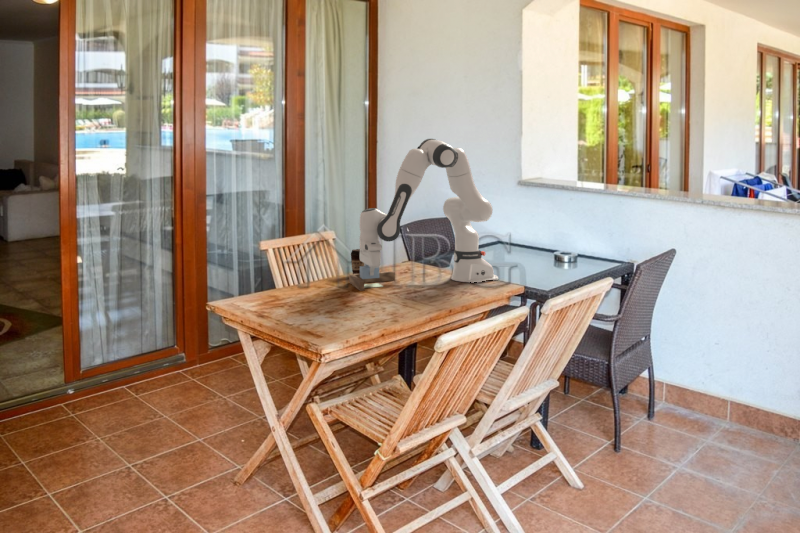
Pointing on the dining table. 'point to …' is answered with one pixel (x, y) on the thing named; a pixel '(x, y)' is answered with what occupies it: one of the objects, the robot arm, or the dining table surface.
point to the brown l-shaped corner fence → (370, 280)
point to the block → (365, 272)
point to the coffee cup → (356, 261)
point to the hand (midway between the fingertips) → (369, 274)
